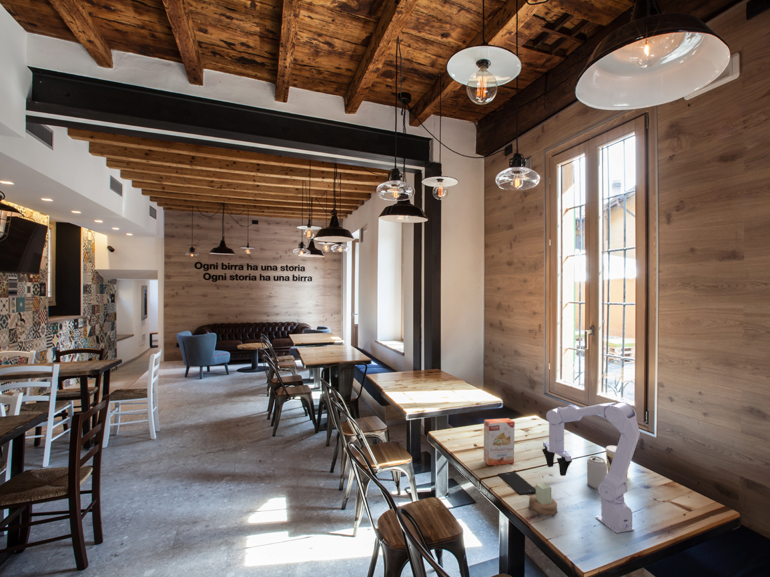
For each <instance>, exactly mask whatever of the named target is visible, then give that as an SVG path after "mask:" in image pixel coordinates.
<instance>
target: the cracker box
mask: <svg viewBox="0 0 770 577" xmlns="http://www.w3.org/2000/svg"><path fill="white" fill-rule="evenodd" d="M483 462H484V463H485V464H487V465H488V466H496V465H499V466H500V465H509V464H510V465H511V464H515V421H513V420H512V419H510V418H509V417H507V418H491V419H489V418H488V419H484V420H483Z"/></svg>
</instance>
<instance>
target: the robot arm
mask: <svg viewBox="0 0 770 577" xmlns="http://www.w3.org/2000/svg"><path fill="white" fill-rule="evenodd" d="M637 415H638V414H637V412H636V411H635V409H634V408H633V406H632V405H631V404H630V403H627V402H624V401H620V402H618V403H617V402H615V401H613V402H604V403H599V404H593V405H588V406H584V407H578V405H573V404H568V405H567V406H565V407H564V406H563V407H562V406H558V407H555V408H552V409H549V410H548V411H547V412H546V415H545V417H546V420H547V421H548V441H542V442H543V443H542V445H543V448H542V449H541V451H542V453H543V456H544V457H545V461H546V464H547V467H548V468H552V467H553V468H554V462H555V461H554V460H555V455H558V456H559V457H558V458H556V460H557V463H558V467H559V475H560V476H561V477H565V476H566V474H567V471H568V469H569V467H570V465H571V463H572V462H573V459H572V455H570V453H569V452H567V450H565V423H570V422H578V421H581V420H582V418H583V417H588V416H589V417H592V416H601V417H602V418H603V419H606V420H607V421H608V422H609V423H610V424H611V425H612V426H613V427H615V428H616V429H617V430H618V432H619V433H620V437H619V440H618V443H617V445H616V446H617V448H616V451H615V454H614V457H613V461H612V464H611V467H610V470H609V472H608V471H607V475H606V476H605V478H604V480H603V482H602V483H600V484H599V486H598V489H597V491H598V493H599V495H600V500H601V503H600V504H601V506H600V509H601V512H600V513H601V514H600V515H595V518H596V519H597V520H598V521H600V522H601V523H602V524H604V525H605V526H606V527H608V528H609V529H611V530H612V531H613V532H615V533H616V534H619V533H625V532H630V531H634V530H635V528H634V526H633V511H632V509H631V508H630V507H629V506H628V505H627V504H626V502H625V497H624V496H625V494H626V493H627V491H628V487H627V481H628V477H627V478H626V474H627V471H629V467H630V464H631V462H632V458H633V456H634V453H635V450H636V447H637V444H638V441H639V439H640V436H641V431H640V429H639V424H638V420H637ZM627 475H628V474H627Z"/></svg>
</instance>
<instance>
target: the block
mask: <svg viewBox="0 0 770 577" xmlns="http://www.w3.org/2000/svg"><path fill="white" fill-rule="evenodd" d="M535 489H536V493H535V494H536V499H537V500H538V501H539V502H540V503H541V504H542V505H543V504H550V503H551V498H552V487H551V486H550V485H549V484H547V483H546V482H540V483H539V482H538V483H535Z"/></svg>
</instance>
